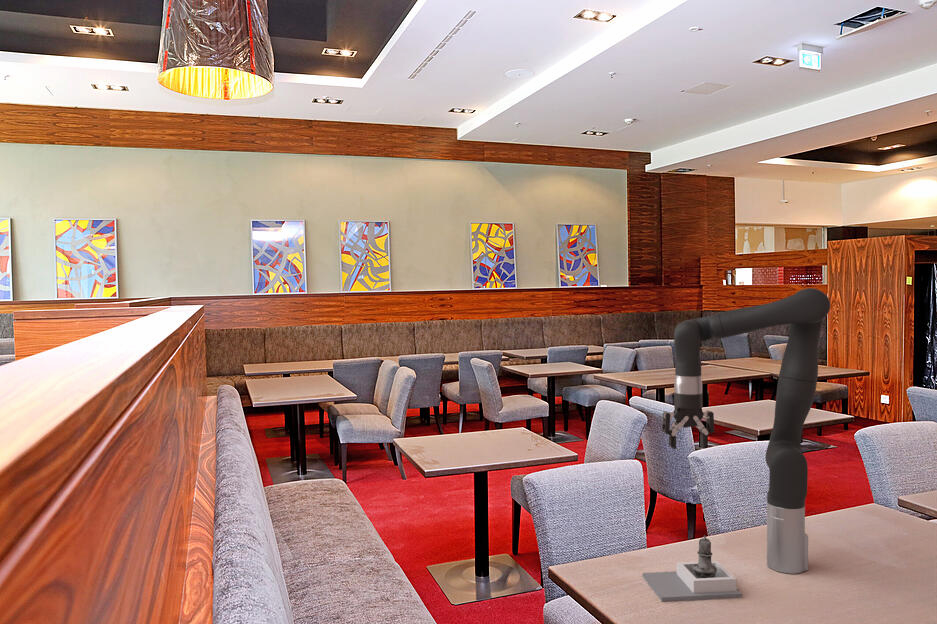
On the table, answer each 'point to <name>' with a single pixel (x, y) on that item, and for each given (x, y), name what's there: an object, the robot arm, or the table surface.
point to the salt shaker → (704, 560)
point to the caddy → (693, 584)
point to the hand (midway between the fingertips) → (688, 448)
